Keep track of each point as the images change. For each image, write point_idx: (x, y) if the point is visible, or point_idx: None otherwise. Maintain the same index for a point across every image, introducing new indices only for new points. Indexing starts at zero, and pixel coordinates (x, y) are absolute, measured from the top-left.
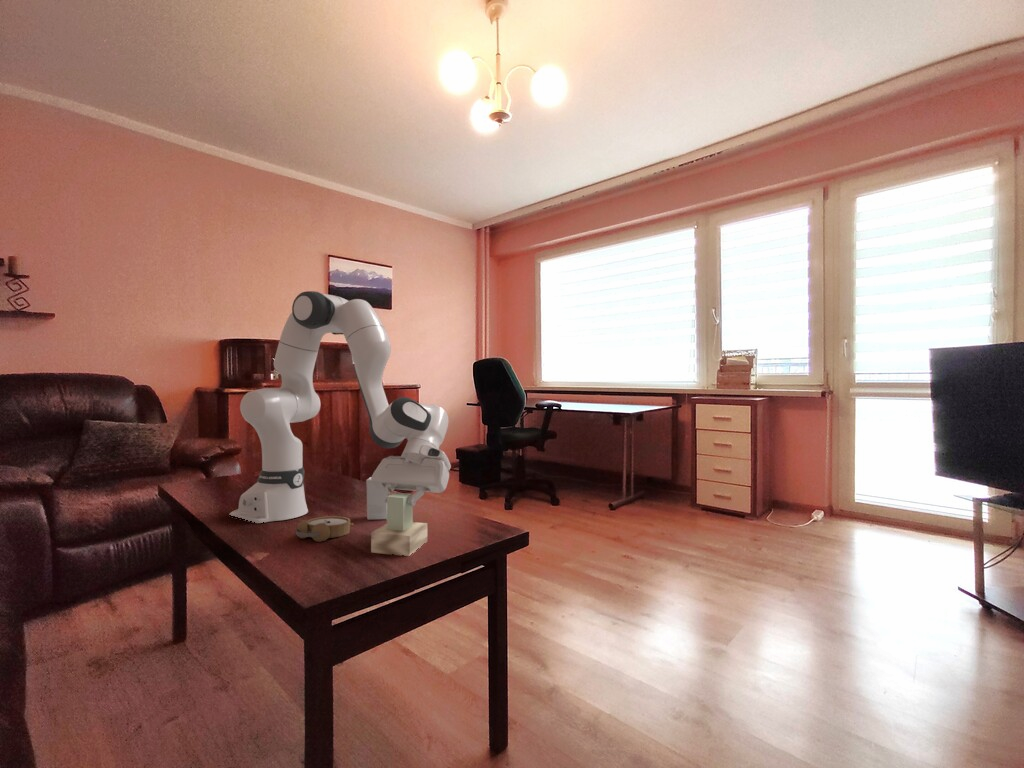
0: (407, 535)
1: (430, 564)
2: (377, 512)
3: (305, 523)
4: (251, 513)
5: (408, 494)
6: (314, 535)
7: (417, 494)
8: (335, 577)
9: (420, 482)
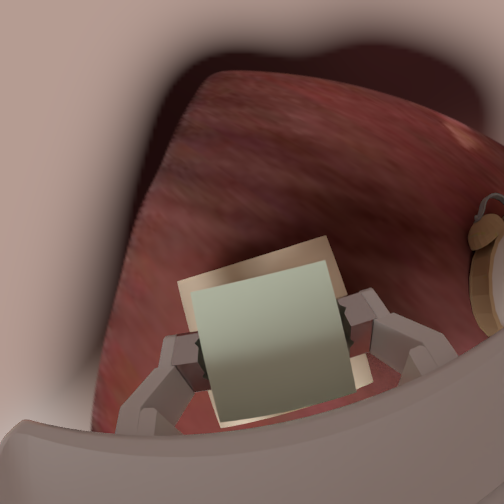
0: (186, 280)
1: (122, 274)
2: None
3: None
4: None
5: (234, 393)
6: (478, 213)
7: (144, 386)
8: (260, 124)
9: (106, 444)
